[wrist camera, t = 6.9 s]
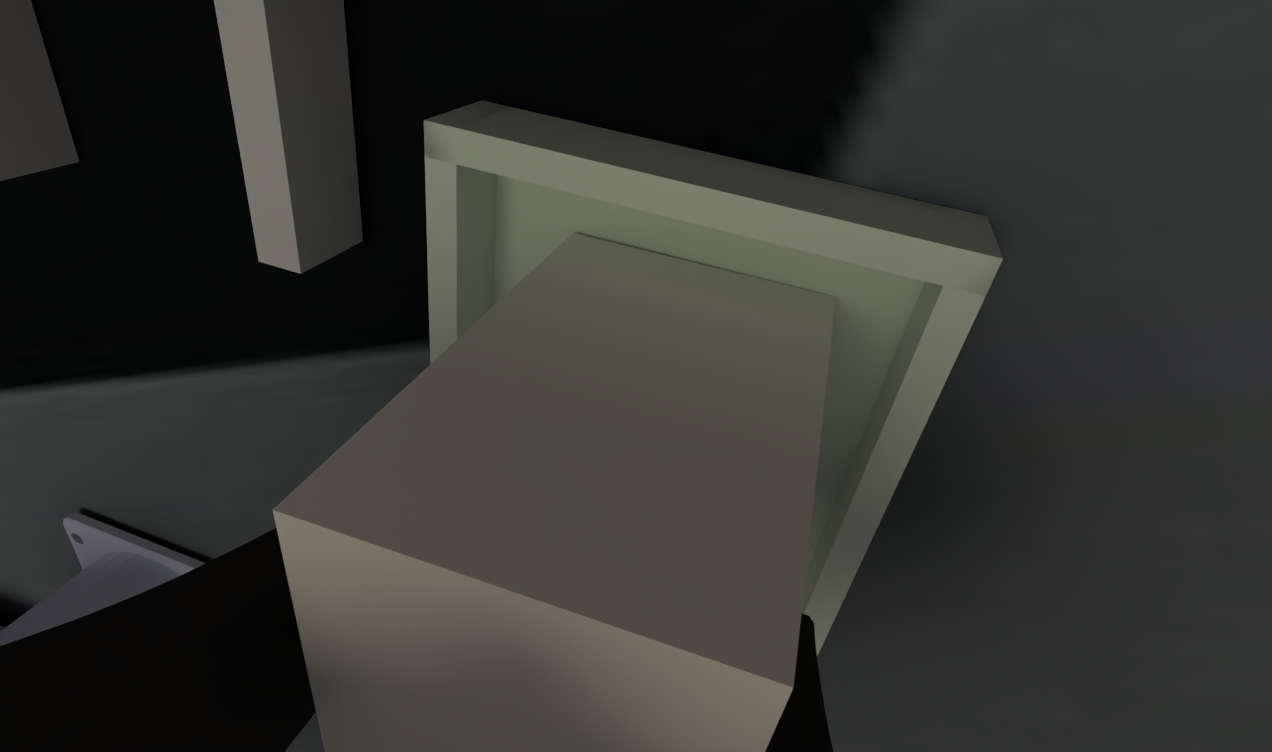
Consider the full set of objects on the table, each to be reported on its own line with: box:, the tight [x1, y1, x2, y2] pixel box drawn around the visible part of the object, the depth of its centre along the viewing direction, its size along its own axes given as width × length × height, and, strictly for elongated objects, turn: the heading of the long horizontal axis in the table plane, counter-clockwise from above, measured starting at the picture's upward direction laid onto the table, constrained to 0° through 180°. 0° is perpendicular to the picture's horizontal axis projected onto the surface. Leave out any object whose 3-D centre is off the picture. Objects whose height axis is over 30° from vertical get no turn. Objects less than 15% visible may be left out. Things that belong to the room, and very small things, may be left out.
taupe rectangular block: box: [273, 233, 836, 752], centre depth 12 cm, size 8×5×8 cm, turn 172°
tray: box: [424, 100, 1003, 656], centre depth 14 cm, size 11×9×2 cm
